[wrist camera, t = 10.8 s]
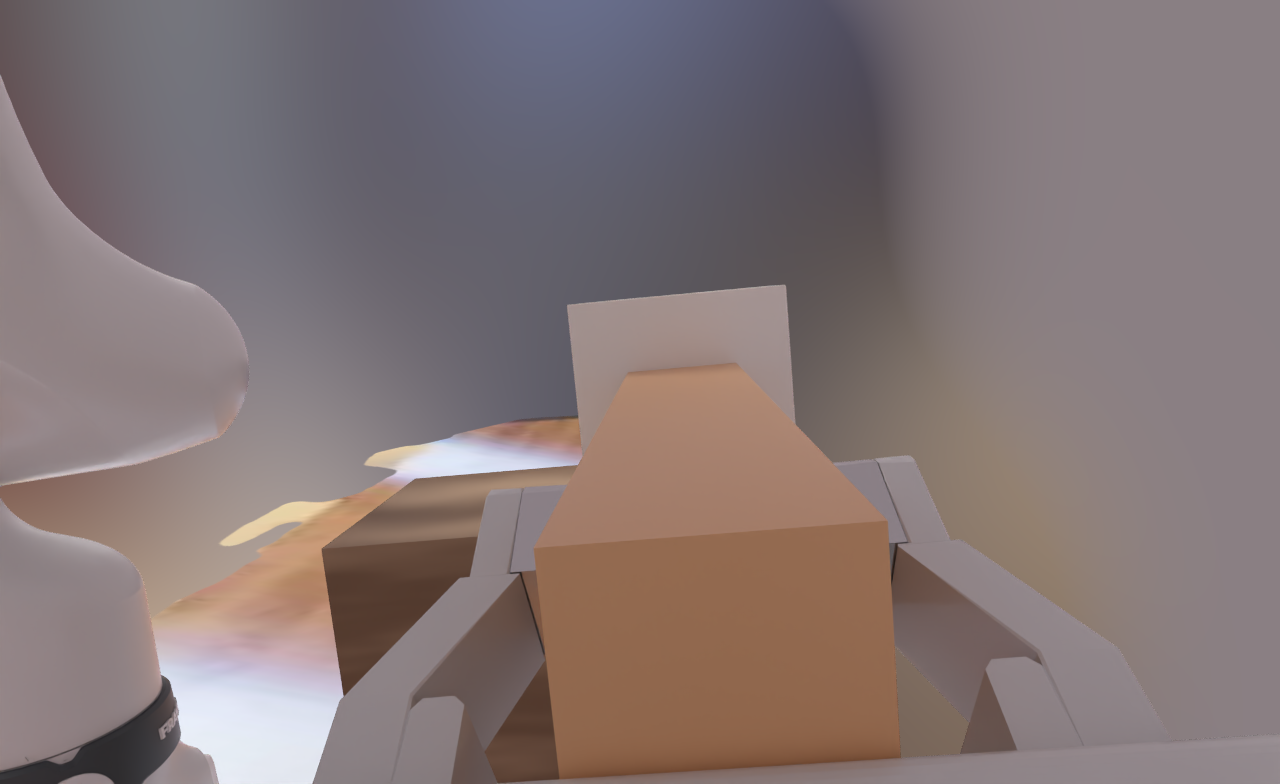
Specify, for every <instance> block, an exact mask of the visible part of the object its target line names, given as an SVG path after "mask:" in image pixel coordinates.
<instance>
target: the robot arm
mask: <svg viewBox="0 0 1280 784" xmlns="http://www.w3.org/2000/svg"><path fill="white" fill-rule="evenodd" d="M248 381H249V361H248V355H247V350H246V346H245V343H244V340H243V337H242V335H241V333H240V331H239V329H238V327H237V325H236V324H235V322H234V321H233V319H232V317H231V316H230V315H229V313H228V312H227V311H226V310H225V309H224V307H223V306H222V305H221V304H219V302H218V301H216V299H214V298H213V297H212V296H211V295H209V294H208V293H207V292H206V291H204V290H203V289H201V288H200V287H198V286H197V285H195V284H192V283H188V282H185V281H182V280H179V279H176V278H172V277H170V276H167V275H165V274H162V273H160V272H157V271H155V270H153V269H151V268H149V267H147V266H144V265H142V264H140V263H138V262H137V261H135V260H133V259H131V258H130V257H128V256H126V255H125V254H123V253H121V252H120V251H118V250H117V249H115V248H114V247H112V246H111V245H110V244H108V243H107V242H105V241H104V240H102V239H101V238H100V237H99V236H97V235H96V234H95V233H94V232H92V231H91V230H90V229H89V228H88V227H86V226H85V225H84V224H83V223H82V222H81V221H79V219H77V218H76V217H75V216H74V215H73V214H72V213H71V211H69V209H68V208H67V207H66V206H65V205H64V204H63V203H62V201H61V200H60V199H59V198H58V197H57V195H56V194H55V192H54V191H53V189H52V188H51V186H50V185H49V183H48V181H47V179H46V178H45V176H44V174H43V172H42V170H41V168H40V166H39V164H38V162H37V160H36V158H35V156H34V153H33V151H32V149H31V147H30V145H29V143H28V141H27V139H26V136H25V134H24V132H23V130H22V127H21V125H20V123H19V121H18V119H17V116H16V113H15V111H14V108H13V106H12V104H11V101H10V99H9V96H8V94H7V91H6V88H5V86H4V83H3V80H2V78H1V75H0V487H1V486H3V485H8V484H13V483H21V482H27V481H33V480H40V479H46V478H53V477H59V476H65V475H72V474H78V473H85V472H90V471H97V470H103V469H110V468H116V467H123V466H129V465H135V464H140V463H143V462H146V461H150V460H153V459H156V458H159V457H162V456H166V455H169V454H172V453H175V452H179V451H181V450H184V449H187V448H190V447H193V446H196V445H199V444H201V443H205V442H207V441H210V440H213V439H216V438H219V437H221V436H222V434H223V433H224V432H225V431H226V430H227V429H228V428H229V426H230V425H231V424H232V422H233V421H234V419H235V418H236V416H237V414H238V412H239V411H240V408H241V406H242V404H243V401H244V399H245V395H246V392H247V387H248ZM833 464H834V465H835V466H836V467H837V468H838V469H839V470H840V471H841V472H842V474H843V475H844V476H845V477H846V478H847V479H848V480H849V481H850V482H851V483H852V484H853V485H854V486H855V487H856V488H857V489H858V490H859V491H860V492H861V493H862V494H863V495H864V496H865V497H866V498H867V500H868V501H869V502H870V503H871V504H872V505H873V506H874V507H875V508H876V509H877V510H878V511H879V512H880V513H881V514H882V515H883V516H884V517H885V518H886V519H887V520H888V534H889V552H890V570H891V589H892V607H893V625H894V643H895V647H896V648H897V649H898V650H899V651H900V652H901V653H902V654H903V655H904V656H905V657H906V658H907V659H908V660H909V661H910V662H911V663H912V664H913V665H914V666H915V667H916V668H917V669H918V671H919V672H920V673H922V674H923V676H924V677H925V678H926V679H927V680H928V681H929V682H930V683H931V684H932V685H933V686H934V687H935V688H936V689H937V690H938V691H939V692H940V693H941V694H942V695H943V696H944V697H945V698H946V699H947V700H948V701H949V702H950V703H951V705H952V706H953V707H954V708H955V709H956V710H957V711H958V712H959V713H960V714H961V715H962V716H963V717H964V718H965V719H966V720H967V721H968V722H969V726H968V729H967V733H966V736H965V739H964V743H963V746H962V749H961V753H960V754H952V755H937V756H921V757H906V758H890V759H874V760H858V761H843V762H827V763H811V764H796V765H780V766H764V767H748V768H733V769H717V770H701V771H685V772H669V773H653V774H637V775H621V776H605V777H589V778H574V779H558V780H542V781H526V782H510V783H497V781H496V778H495V776H494V773H493V771H492V769H491V766H490V764H489V762H488V759H487V757H486V755H485V750H486V749H487V747H488V745H489V744H490V742H491V741H492V739H493V738H494V736H495V735H496V733H497V732H498V730H499V729H500V727H501V726H502V724H503V723H504V721H505V720H506V718H507V717H508V715H509V714H510V712H511V711H512V709H513V708H514V706H515V705H516V703H517V702H518V700H519V699H520V697H521V696H522V694H523V693H524V691H525V690H526V688H527V687H528V685H529V684H530V682H531V681H532V679H533V678H534V676H535V675H536V673H537V672H538V670H539V669H540V667H541V666H542V664H543V663H544V661H545V658H544V656H546V655H545V646H544V637H543V628H542V619H541V610H540V601H539V593H538V584H537V575H536V566H535V557H534V546H535V544H536V542H537V541H538V539H539V537H540V535H541V533H542V531H543V529H544V528H545V526H546V524H547V522H548V520H549V518H550V516H551V515H552V513H553V511H554V509H555V507H556V505H557V503H558V502H559V500H560V498H561V496H562V494H563V492H564V490H565V489H566V487H567V485H552V486H535V487H525V488H515V489H495V490H491V491H490V492H489V494H488V496H487V497H486V500H485V505H484V510H483V515H482V520H481V525H480V529H479V534H478V539H477V544H476V549H475V553H474V558H473V563H472V568H471V573H470V577H464V578H459V579H458V580H457V581H456V582H455V583H454V584H453V585H452V586H451V587H450V588H449V589H448V590H447V591H446V592H445V593H444V594H443V595H442V596H441V598H440V599H439V600H438V601H437V602H436V603H435V604H434V605H433V606H432V607H431V608H430V609H429V610H428V611H427V612H426V613H425V614H424V615H423V616H422V617H421V618H420V619H419V620H418V621H417V622H416V623H415V624H414V625H413V626H412V627H411V628H410V629H409V630H408V631H407V632H406V633H405V634H404V635H403V636H402V637H401V639H400V640H399V641H398V642H397V643H396V644H395V645H394V646H393V647H392V648H391V649H390V650H389V651H388V652H387V653H386V654H385V655H384V656H383V657H382V658H381V659H380V660H379V661H378V662H377V663H376V664H375V665H374V666H373V667H372V668H371V669H370V670H369V671H368V672H367V673H366V674H365V675H364V676H363V677H362V678H361V680H360V681H359V682H358V683H357V684H356V685H355V686H354V687H353V688H352V689H351V690H350V691H349V692H348V693H347V694H346V695H345V696H344V697H343V698H342V699H341V700H340V702H339V705H338V708H337V711H336V714H335V717H334V720H333V723H332V726H331V729H330V732H329V735H328V738H327V741H326V744H325V747H324V750H323V754H322V757H321V760H320V763H319V766H318V769H317V772H316V775H315V778H314V781H313V784H1280V734H1269V735H1253V736H1237V737H1221V738H1206V739H1189V740H1173V741H1172V739H1171V738H1170V736H1169V734H1168V732H1167V730H1166V729H1165V727H1164V725H1163V724H1162V722H1161V720H1160V719H1159V717H1158V715H1157V713H1156V712H1155V710H1154V708H1153V707H1152V705H1151V703H1150V701H1149V700H1148V698H1147V696H1146V694H1145V693H1144V691H1143V689H1142V688H1141V686H1140V684H1139V682H1138V681H1137V679H1136V677H1135V676H1134V674H1133V672H1132V670H1131V669H1130V667H1129V665H1128V664H1127V662H1126V660H1125V659H1124V657H1123V655H1122V653H1121V652H1120V650H1119V648H1117V647H1116V646H1115V645H1113V644H1112V643H1110V642H1109V641H1107V640H1106V639H1104V638H1103V637H1102V636H1100V635H1099V634H1097V633H1096V632H1094V631H1093V630H1092V629H1090V628H1089V627H1087V626H1086V625H1084V624H1083V623H1081V622H1080V621H1078V620H1077V619H1076V618H1074V617H1073V616H1071V615H1070V614H1068V613H1067V612H1065V611H1064V610H1062V609H1061V608H1060V607H1058V606H1057V605H1055V604H1054V603H1052V602H1051V601H1049V600H1048V599H1047V598H1045V597H1044V596H1042V595H1041V594H1039V593H1038V592H1037V591H1035V590H1033V589H1032V588H1030V587H1029V586H1028V585H1026V584H1025V583H1024V582H1022V581H1021V580H1019V579H1018V578H1016V577H1015V576H1013V575H1012V574H1011V573H1009V572H1008V571H1006V570H1005V569H1003V568H1002V567H1000V566H999V565H998V564H996V563H995V562H993V561H992V560H990V559H989V558H987V557H986V556H985V555H983V554H981V553H980V552H979V551H977V550H976V549H974V548H973V547H971V546H970V545H969V544H967V543H966V542H964V541H963V540H950V538H949V536H948V533H947V531H946V529H945V527H944V524H943V522H942V520H941V518H940V515H939V513H938V511H937V509H936V507H935V504H934V502H933V500H932V498H931V495H930V493H929V491H928V489H927V487H926V485H925V482H924V480H923V478H922V475H921V473H920V471H919V469H918V466H917V464H916V462H915V460H914V459H913V458H912V457H910V456H898V457H888V458H877V459H874V460H871V459H870V460H858V461H847V462H836V463H833ZM178 715H179V710H178V705H177V701H176V698H175V697H173V692H172V688H171V684H170V682H169V680H168V679H167V678H166V677H164V676H162V675H161V672H160V667H159V661H158V656H157V651H156V645H155V640H154V634H153V629H152V623H151V618H150V612H149V607H148V601H147V596H146V590H145V585H144V580H143V578H142V576H141V574H140V573H139V571H138V570H137V568H136V567H135V565H134V564H133V563H132V562H131V561H130V560H129V559H128V558H126V557H125V556H124V555H122V554H121V553H119V552H118V551H116V550H114V549H112V548H110V547H108V546H105V545H103V544H100V543H98V542H95V541H91V540H87V539H83V538H78V537H73V536H67V535H62V534H57V533H52V532H47V531H43V530H40V529H37V528H35V527H33V526H31V525H28V524H27V523H25V522H24V521H22V520H21V519H19V518H18V517H17V516H15V515H14V514H13V513H12V512H11V511H10V510H9V509H8V508H7V507H6V506H5V504H4V503H3V501H2V499H1V498H0V784H219V782H218V778H217V773H216V769H215V765H214V762H213V759H212V757H211V756H210V755H209V754H203V753H202V752H201V751H200V750H199V749H198V748H196V747H192V746H188V745H186V744H184V743H183V742H181V741H180V736H181V731H180V726H179V721H178Z"/></svg>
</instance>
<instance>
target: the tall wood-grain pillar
mask: <svg viewBox="0 0 1280 784" xmlns="http://www.w3.org/2000/svg"><path fill="white" fill-rule="evenodd" d="M577 466H578V465H575V466H563V467H551V468H539V469H527V470H515V471H503V472H491V473H479V474H467V475H455V476H443V477H431V478H419V479H414V480H413V481H412V482H410V483H409V484H408V485H406V486H405V487H404V488H402V489H401V490H400V491H398V492H397V493H396V494H394V495H393V496H392V497H390V498H389V499H388V500H386V501H385V502H384V503H382V504H381V505H380V506H378V507H377V508H376V509H374V510H373V511H372V512H370V513H369V514H368V515H366V516H365V517H364V518H362V519H361V520H360V521H358V522H357V523H356V524H354V525H353V526H352V527H350V528H349V529H347V530H346V531H345V532H343V533H342V534H341V535H339V536H338V537H337V538H335V539H334V540H333V541H331V542H330V543H329V544H327V545H326V546H325V547H323V548H322V556H323V562H324V569H325V576H326V582H327V589H328V595H329V602H330V609H331V615H332V622H333V628H334V635H335V642H336V648H337V655H338V662H339V668H340V675H341V681H342V688H343V695H344V696H345V695H346V694H347V693H348V692H349V691H350V690H351V689H352V688H353V687H354V686H355V685H356V684H357V683H358V682H359V681H360V680H361V678H362V677H363V676H364V675H365V674H366V673H367V672H368V671H369V670H370V669H371V668H372V667H373V666H374V665H375V664H376V663H377V662H378V661H379V660H380V659H381V658H382V657H383V656H384V655H385V654H386V653H387V652H388V651H389V650H390V649H391V648H392V647H393V646H394V645H395V644H396V643H397V642H398V641H399V640H400V639H401V637H402V636H403V635H404V634H405V633H406V632H407V631H408V630H409V629H410V628H411V627H412V626H413V625H414V624H415V623H416V622H417V621H418V620H419V619H420V618H421V617H422V616H423V615H424V614H425V613H426V612H427V611H428V610H429V609H430V608H431V607H432V606H433V605H434V604H435V603H436V602H437V601H438V600H439V599H440V598H441V596H442V595H443V594H444V593H445V592H446V591H447V590H448V589H449V588H450V587H451V586H452V585H453V584H454V583H455V582H456V581H457V580H458V579H459V578H464V577H470V573H471V568H472V563H473V558H474V553H475V549H476V544H477V539H478V534H479V529H480V525H481V520H482V515H483V510H484V505H485V500H486V497H487V496H488V494H489V492H490V491H491V490H495V489H515V488H525V487H535V486H552V485H568V483H569V481H570V479H571V477H572V475H573V474H574V472H575V470H576V468H577ZM544 658H545V661H544V663H543V664H542V666H541V667H540V669H539V670H538V672H537V673H536V675H535V676H534V678H533V679H532V681H531V682H530V684H529V685H528V687H527V688H526V690H525V691H524V693H523V694H522V696H521V697H520V699H519V700H518V702H517V703H516V705H515V706H514V708H513V709H512V711H511V712H510V714H509V715H508V717H507V718H506V720H505V721H504V723H503V724H502V726H501V727H500V729H499V730H498V732H497V733H496V735H495V736H494V738H493V739H492V741H491V742H490V744H489V745H488V747H487V749H486V750H485V755H486V757H487V759H488V762H489V764H490V766H491V769H492V771H493V773H494V776H495V778H496V781H497V783H510V782H526V781H542V780H558V779H559V770H558V761H557V752H556V743H555V734H554V725H553V717H552V708H551V699H550V690H549V681H548V672H547V663H546V656H544Z"/></svg>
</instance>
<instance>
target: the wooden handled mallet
mask: <svg viewBox="0 0 1280 784" xmlns="http://www.w3.org/2000/svg"><path fill="white" fill-rule="evenodd" d="M567 308H568V318H569V329H570V338H571V348H572V358H573V367H574V377H575V387H576V396H577V406H578V416H579V426H580V435H581V445H582V455H583V457H582V459H581V461H580V462H579V464H578V466H577V468H576V470H575V472H574V474H573V475H572V477H571V479H570V481H569V483H568V485H567V487H566V489H565V490H564V492H563V494H562V496H561V498H560V500H559V502H558V503H557V505H556V507H555V509H554V511H553V513H552V515H551V516H550V518H549V520H548V522H547V524H546V526H545V528H544V529H543V531H542V533H541V535H540V537H539V539H538V541H537V542H536V544H535V546H534V557H535V566H536V575H537V584H538V593H539V601H540V610H541V619H542V628H543V637H544V646H545V655H546V663H547V672H548V681H549V690H550V699H551V708H552V717H553V725H554V734H555V743H556V752H557V761H558V770H559V779H574V778H589V777H605V776H621V775H637V774H653V773H669V772H685V771H701V770H717V769H733V768H748V767H764V766H780V765H796V764H811V763H827V762H843V761H858V760H874V759H890V758H901V753H900V735H899V716H898V698H897V680H896V663H895V643H894V625H893V607H892V589H891V570H890V552H889V534H888V520H887V519H886V518H885V517H884V516H883V515H882V514H881V513H880V512H879V511H878V510H877V509H876V508H875V507H874V506H873V505H872V504H871V503H870V502H869V501H868V500H867V498H866V497H865V496H864V495H863V494H862V493H861V492H860V491H859V490H858V489H857V488H856V487H855V486H854V485H853V484H852V483H851V482H850V481H849V480H848V479H847V478H846V477H845V476H844V475H843V474H842V472H841V471H840V470H839V469H838V468H837V467H836V466H835V465H834V464H833V463H832V462H831V461H830V460H829V459H828V458H827V457H826V456H825V455H824V454H823V453H822V452H821V451H820V450H819V449H818V447H817V446H816V445H815V444H814V443H813V442H812V441H811V440H810V439H809V438H808V437H807V436H806V435H805V434H804V433H803V432H802V431H801V430H800V429H799V428H798V427H797V426H796V425H795V413H794V399H793V383H792V369H791V354H790V340H789V326H788V311H787V296H786V285H777V286H764V287H753V288H742V289H731V290H720V291H710V292H699V293H689V294H678V295H667V296H656V297H645V298H634V299H624V300H614V301H603V302H591V303H582V304H573V305H567Z"/></svg>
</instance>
